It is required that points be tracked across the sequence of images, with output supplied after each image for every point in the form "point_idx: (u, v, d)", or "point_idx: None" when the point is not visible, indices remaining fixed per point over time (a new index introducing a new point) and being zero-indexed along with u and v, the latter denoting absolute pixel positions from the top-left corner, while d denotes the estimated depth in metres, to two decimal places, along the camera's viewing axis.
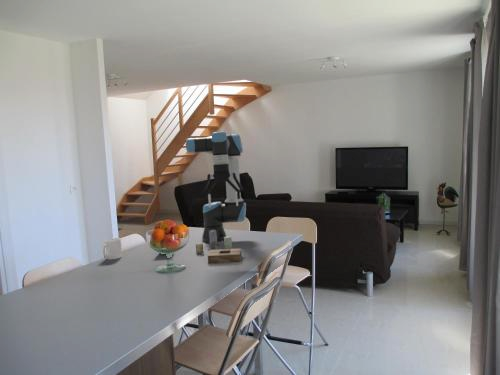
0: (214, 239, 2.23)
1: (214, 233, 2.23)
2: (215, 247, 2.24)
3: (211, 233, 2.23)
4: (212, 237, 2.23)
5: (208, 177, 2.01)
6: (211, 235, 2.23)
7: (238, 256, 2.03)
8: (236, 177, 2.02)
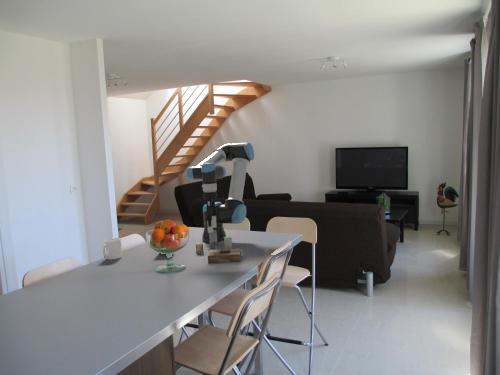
0: (214, 239, 2.23)
1: (214, 233, 2.23)
2: (215, 247, 2.24)
3: (211, 233, 2.23)
4: (212, 237, 2.23)
5: None
6: (211, 235, 2.23)
7: (238, 256, 2.03)
8: (210, 206, 2.16)
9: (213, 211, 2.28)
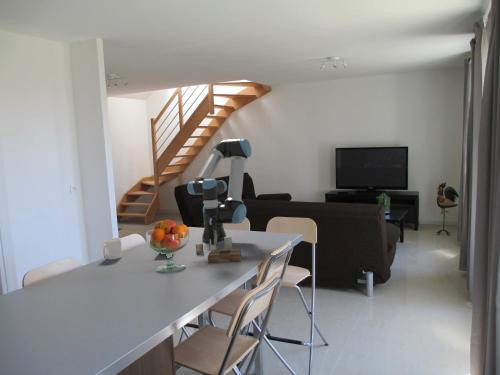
0: None
1: None
2: None
3: None
4: None
5: None
6: None
7: (238, 256, 2.03)
8: (212, 225, 2.18)
9: (214, 229, 2.26)
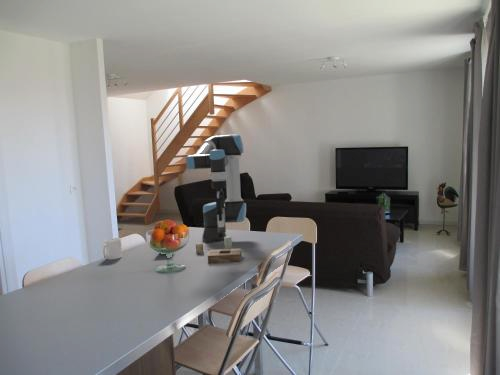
0: None
1: None
2: None
3: None
4: None
5: None
6: None
7: (238, 256, 2.03)
8: (220, 199, 2.01)
9: (221, 205, 2.09)
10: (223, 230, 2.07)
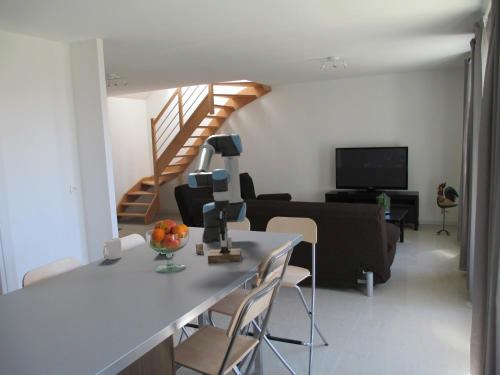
0: None
1: (225, 231, 2.06)
2: None
3: None
4: None
5: None
6: None
7: (238, 256, 2.03)
8: (223, 219, 2.01)
9: (224, 224, 2.09)
10: (226, 249, 2.07)
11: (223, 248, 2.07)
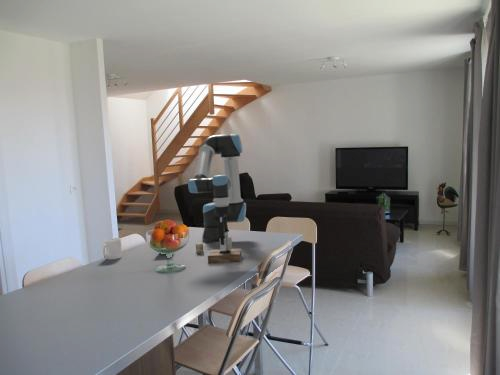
0: None
1: (225, 240, 2.07)
2: None
3: None
4: None
5: None
6: None
7: (238, 256, 2.03)
8: (223, 223, 2.00)
9: (225, 227, 2.12)
10: None
11: None
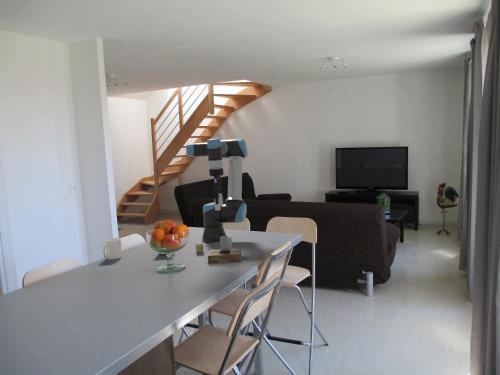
0: (225, 246, 2.07)
1: (225, 240, 2.07)
2: None
3: (222, 239, 2.06)
4: (223, 243, 2.07)
5: None
6: (222, 241, 2.07)
7: (238, 256, 2.03)
8: (217, 183, 2.10)
9: (219, 188, 2.23)
10: None
11: None
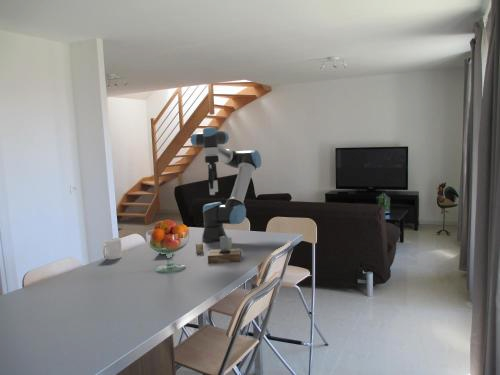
0: (225, 246, 2.07)
1: (225, 240, 2.07)
2: None
3: (222, 239, 2.06)
4: (223, 243, 2.07)
5: None
6: (222, 241, 2.07)
7: (238, 256, 2.03)
8: (212, 169, 2.22)
9: (215, 175, 2.34)
10: None
11: None
